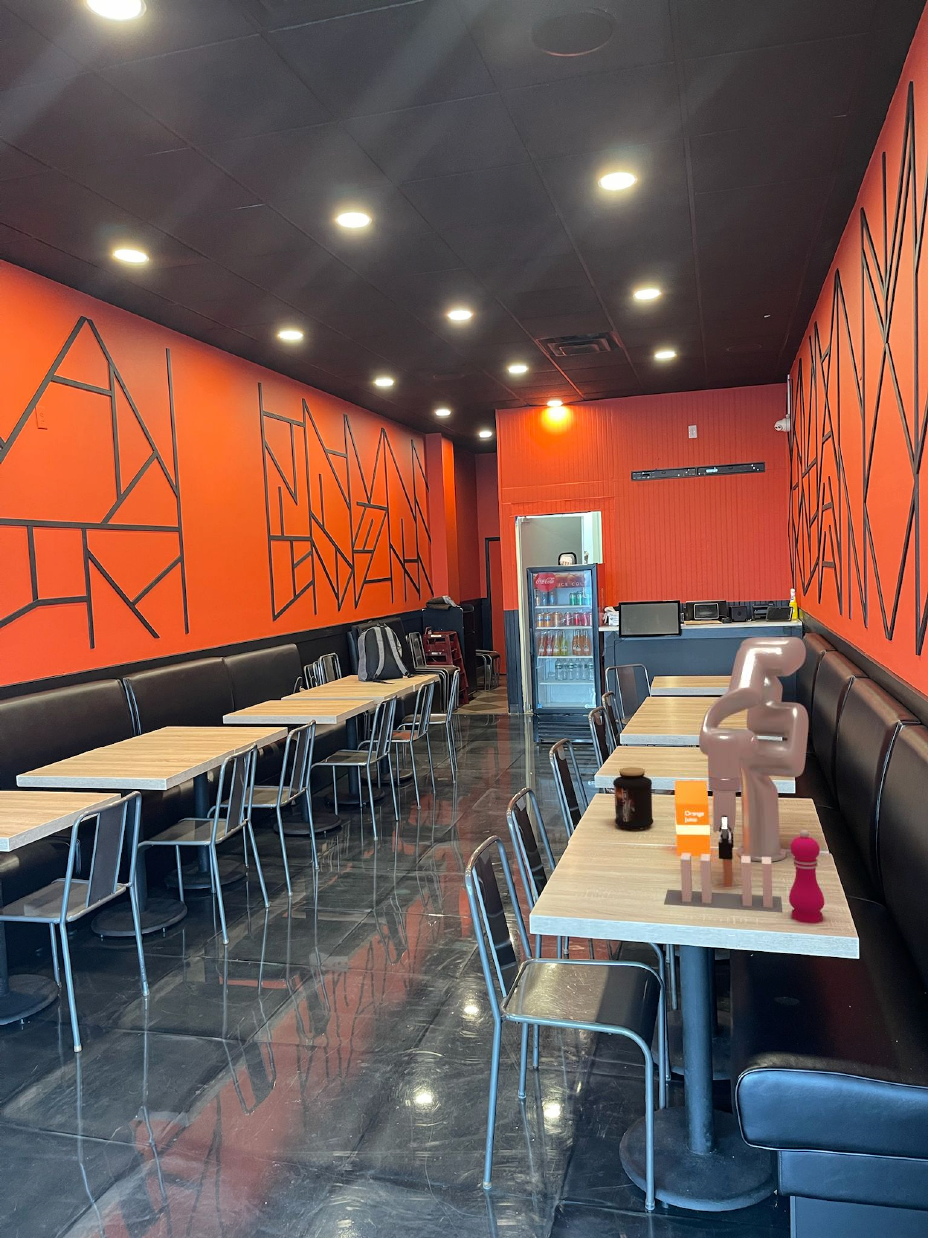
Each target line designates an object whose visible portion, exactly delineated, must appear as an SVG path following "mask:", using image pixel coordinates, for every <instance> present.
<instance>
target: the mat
mask: <svg viewBox="0 0 928 1238" xmlns="http://www.w3.org/2000/svg"><path fill="white" fill-rule="evenodd" d="M772 898H773V908H770V907H764V906H763V894H762V895H759V894H752V906H743V898H742V893H731V892H730V893H729V892H714V891H712V900H711V903H702V891H700V890H699V891H696V890H695V891H694V890H692V900H691V902H682V889H681V890H680V889H667V891H666V894H665V898H664V901H663V905H664V906H665V905H667V906H681V907H694V908H695V907H696V908H698V907H699V908H708V909H709V908H710V909H711V908H712V909H724V910H725V909H726V910H738V911H741V910H742V911H752V912H753V911H755V912H769V913H783V912H784V911H783V904H782V903H783V901H782V896H778V895H776V896H775V895H772Z"/></svg>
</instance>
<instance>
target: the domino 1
mask: <svg viewBox="0 0 928 1238" xmlns="http://www.w3.org/2000/svg"><path fill="white" fill-rule="evenodd" d="M692 876H693V875H692V856H691V853H682V856H680V879H681V880H680V881H681V882H680V883H681V890H682V902H691V900H692V891H693V877H692Z"/></svg>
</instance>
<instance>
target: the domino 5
mask: <svg viewBox="0 0 928 1238" xmlns="http://www.w3.org/2000/svg"><path fill="white" fill-rule="evenodd" d="M772 871H773V870H772V861H771V857H762V861H761V873H762V895H763V906H764V907H770V908H773V898H772V896H773V874H772Z"/></svg>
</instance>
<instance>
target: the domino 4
mask: <svg viewBox="0 0 928 1238" xmlns="http://www.w3.org/2000/svg"><path fill="white" fill-rule="evenodd" d="M740 858H741V861H740V866H741V894H742V898H743V906H752V895H753V891H752V887H753V886H752V866H751V865H752V863H751V862H752V860H751V858H750V856H741V857H740Z"/></svg>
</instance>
